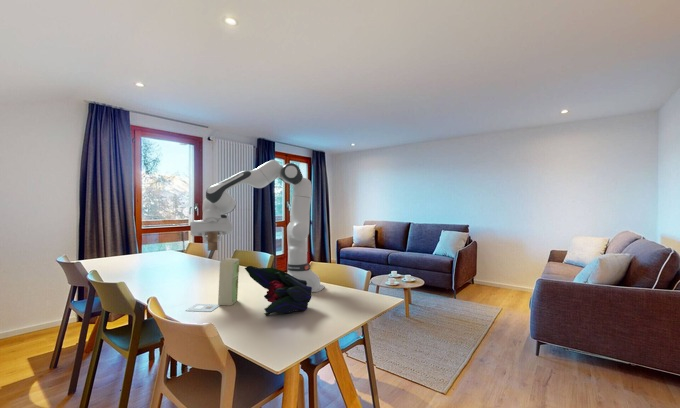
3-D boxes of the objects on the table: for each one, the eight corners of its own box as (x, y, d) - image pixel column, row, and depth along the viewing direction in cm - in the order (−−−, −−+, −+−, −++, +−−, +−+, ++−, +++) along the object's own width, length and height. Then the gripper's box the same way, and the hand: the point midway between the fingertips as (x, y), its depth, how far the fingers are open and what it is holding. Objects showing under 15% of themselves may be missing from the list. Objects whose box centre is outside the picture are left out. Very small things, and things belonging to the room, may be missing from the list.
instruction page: (220, 305, 142) (220, 304, 142) (211, 311, 133) (211, 311, 133) (196, 304, 143) (196, 303, 143) (185, 310, 134) (185, 310, 134)
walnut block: (217, 248, 154) (217, 231, 154) (217, 250, 150) (217, 232, 150) (207, 249, 152) (207, 232, 152) (207, 250, 148) (207, 232, 148)
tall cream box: (233, 305, 141) (234, 261, 141) (217, 305, 141) (219, 261, 141) (239, 300, 149) (240, 258, 149) (224, 299, 149) (226, 258, 149)
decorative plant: (303, 335, 130) (233, 327, 120) (296, 296, 153) (237, 286, 142) (320, 298, 125) (248, 286, 114) (310, 263, 148) (250, 250, 137)
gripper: (190, 216, 153) (189, 237, 144) (231, 215, 162) (233, 235, 153) (190, 224, 157) (189, 245, 148) (231, 223, 166) (233, 242, 157)
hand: (212, 240), depth 151 cm, fingers closed on walnut block, 4 cm apart
